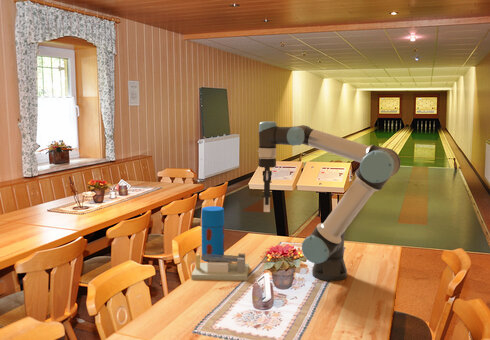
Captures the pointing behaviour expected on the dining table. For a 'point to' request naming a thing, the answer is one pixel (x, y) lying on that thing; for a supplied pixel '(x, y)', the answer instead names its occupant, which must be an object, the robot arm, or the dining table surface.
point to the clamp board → (220, 275)
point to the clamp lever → (220, 257)
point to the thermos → (212, 230)
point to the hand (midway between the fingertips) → (266, 211)
